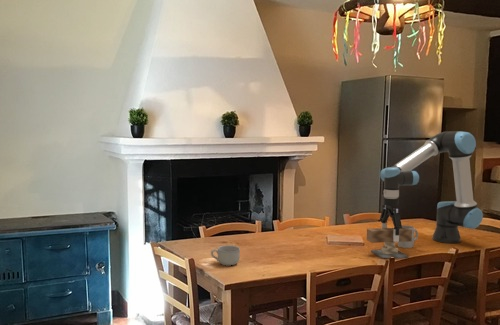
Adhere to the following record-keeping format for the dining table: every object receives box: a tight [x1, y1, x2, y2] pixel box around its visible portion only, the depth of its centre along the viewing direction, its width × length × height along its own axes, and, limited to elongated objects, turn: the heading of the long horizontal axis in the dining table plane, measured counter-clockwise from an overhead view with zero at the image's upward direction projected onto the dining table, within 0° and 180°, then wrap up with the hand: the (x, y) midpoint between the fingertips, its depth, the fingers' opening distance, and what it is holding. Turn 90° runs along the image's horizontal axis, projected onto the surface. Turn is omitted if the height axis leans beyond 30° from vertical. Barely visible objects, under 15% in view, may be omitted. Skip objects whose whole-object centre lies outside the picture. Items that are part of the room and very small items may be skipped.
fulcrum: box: [370, 242, 410, 260], centre depth 246 cm, size 14×14×8 cm
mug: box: [397, 224, 419, 249], centre depth 265 cm, size 12×8×11 cm
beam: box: [366, 227, 412, 244], centre depth 245 cm, size 22×6×6 cm, turn 100°
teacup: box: [210, 244, 241, 267], centre depth 227 cm, size 14×11×8 cm
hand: (389, 238), depth 246 cm, fingers open, 13 cm apart
